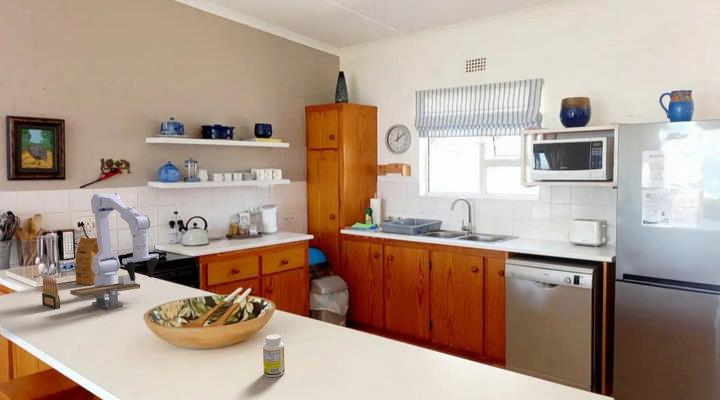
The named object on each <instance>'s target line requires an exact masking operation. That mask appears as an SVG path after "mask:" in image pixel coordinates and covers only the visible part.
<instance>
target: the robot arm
mask: <svg viewBox="0 0 720 400" xmlns="http://www.w3.org/2000/svg"><path fill="white" fill-rule="evenodd" d="M90 204H91V205H90V206H91V212H92V215H94V219H95V230H96V238H97V241H98V251H99V252H98V253H97V254H96V255H95V256H94V257H93V263H92V270H93V272H94V274H95V275H96V276H95V278H94V285H93V287H95V286H98V285H110V284H117V279H116V278H117V275H116V274H118V272H119V270H120V268H121V263H122V264H123V266H124V268H125V270H126V271H127V273H128V274H127V275H129V276H130V280H131V281H135V282H136V280H135V276H136V273H135V272H136V267H137V266H136V264H135V263H138V262H144V261H146V264H147V276H148V278H151V279H152V278H153V277H154V273H155V269H156V267H157V264H158V263H159V258H160V254H159V253H150V254H149V240H148V239H149V238H148V236H149V235H148V230H149V229H150V227H151V220H150V217H149V216H148V215H146V214H141V213H139V212H138V211H137V210H135V209H134V207H133V206H127V205H126V204H125V203H124V202H123V201H122V200H121V196H120V195H119V194H118V193H117V192H113V193H101V194H100V193H98V194H97V193H96V194H93V195H92V197H91V199H90ZM113 211H116V212H118V213H119V214H120V218H122V220H124V222H126V223H127V224H128V228H129V231H130V235H131V237H132V238H131V239H132V241H131V242H132V256H130V257H126V258H122V259H121V263H120V260H119V257H118V256H119V255H118V254H117V253H115V252H114V251H113V250H112V242H111V241H112V240H111V233H110V232H111V231H110V230H111V229H110V223H109V222H110V221H109V215H110V214H111V213H112V212H113ZM101 259H103V260H101ZM121 292H122V291H118V295H120V294H121ZM104 297H105V298H106V297H109V294H107V293H105V294H104Z"/></svg>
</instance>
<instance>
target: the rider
mask: <svg viewBox="0 0 720 400" xmlns="http://www.w3.org/2000/svg"><path fill="white" fill-rule="evenodd" d="M117 277H118V278H117V280H118V283H117V284H118V286H121V287H122V286H129V285H135V283H136V275H135V281H131V280H130V276H129V274H123V275H118V276H117Z"/></svg>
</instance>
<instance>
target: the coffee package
mask: <svg viewBox="0 0 720 400" xmlns="http://www.w3.org/2000/svg"><path fill="white" fill-rule="evenodd" d="M98 252H99V251H98V241H97V237H89V238H86V237H84V236H80V238H79V243H78V246H77V249H76V253H75V261H74V263H75V264H74V272H75V284H76V285H83V286H94V278H95V276H96V275H95V274H94V272H93V270H92V263H93V257H94V256H95V255H96V254H97V253H98ZM101 260H103V259H101Z"/></svg>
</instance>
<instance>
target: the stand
mask: <svg viewBox="0 0 720 400" xmlns="http://www.w3.org/2000/svg"><path fill="white" fill-rule="evenodd" d="M98 286H103V285H98ZM95 287H96V286H95ZM118 292H119V291H118V290H117V289H111V290H109V296H108V299H106V297H104V294H99V295H95V301H93V302H91V306H94V307H96V306H97V308H99V307H100V308H101V309H102V308H103V310H106V311H111V310H114V309H119V307H120V308H122V307H123V305H124V304H122V303H120V302H119V294H118ZM100 308H99V309H100Z"/></svg>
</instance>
